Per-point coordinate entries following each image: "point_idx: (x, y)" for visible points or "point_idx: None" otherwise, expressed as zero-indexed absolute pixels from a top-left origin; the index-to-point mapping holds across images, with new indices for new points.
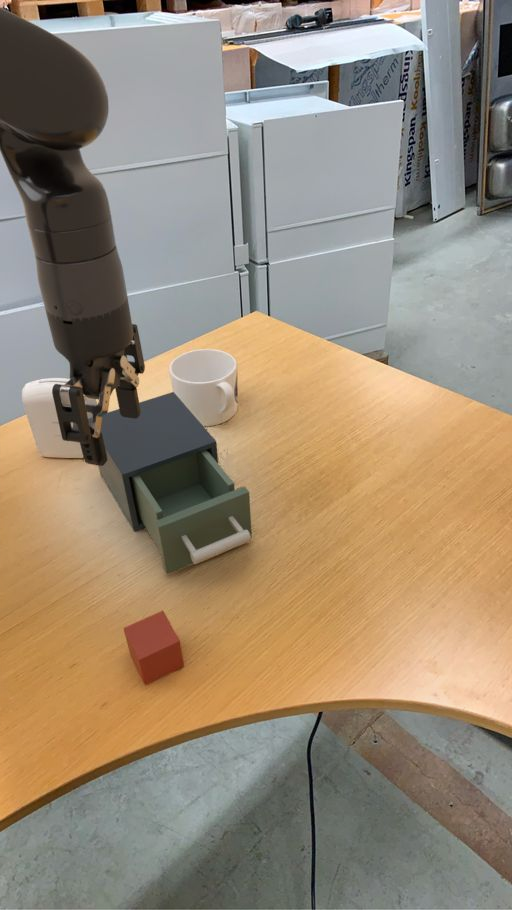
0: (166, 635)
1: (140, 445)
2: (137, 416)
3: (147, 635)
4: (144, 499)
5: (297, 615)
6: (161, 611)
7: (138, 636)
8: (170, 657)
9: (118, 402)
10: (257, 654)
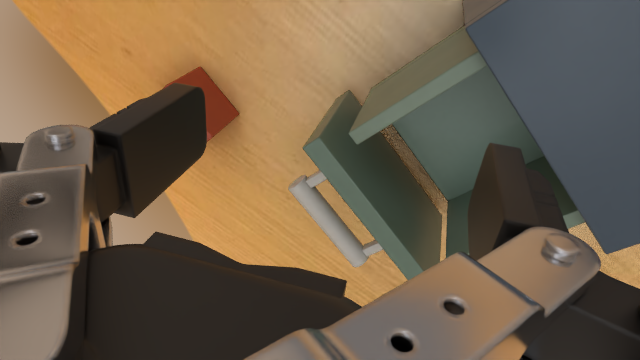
0: None
1: (625, 50)
2: (468, 210)
3: None
4: (416, 84)
5: (304, 262)
6: (209, 135)
7: None
8: None
9: (495, 174)
10: (241, 220)
